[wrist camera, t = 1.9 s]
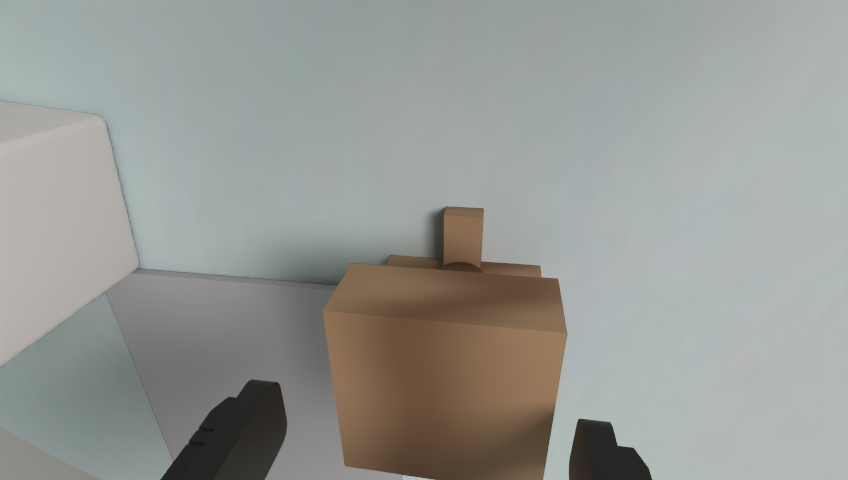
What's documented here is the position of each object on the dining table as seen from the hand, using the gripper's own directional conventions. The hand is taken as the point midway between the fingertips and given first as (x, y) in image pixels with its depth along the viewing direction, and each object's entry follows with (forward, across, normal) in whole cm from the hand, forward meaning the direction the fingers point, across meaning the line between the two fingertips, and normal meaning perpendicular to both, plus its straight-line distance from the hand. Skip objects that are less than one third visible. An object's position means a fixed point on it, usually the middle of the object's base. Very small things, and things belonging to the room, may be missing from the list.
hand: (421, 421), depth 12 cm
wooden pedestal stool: (+7, 0, 0) cm, 7 cm away
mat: (+8, +9, +8) cm, 14 cm away
